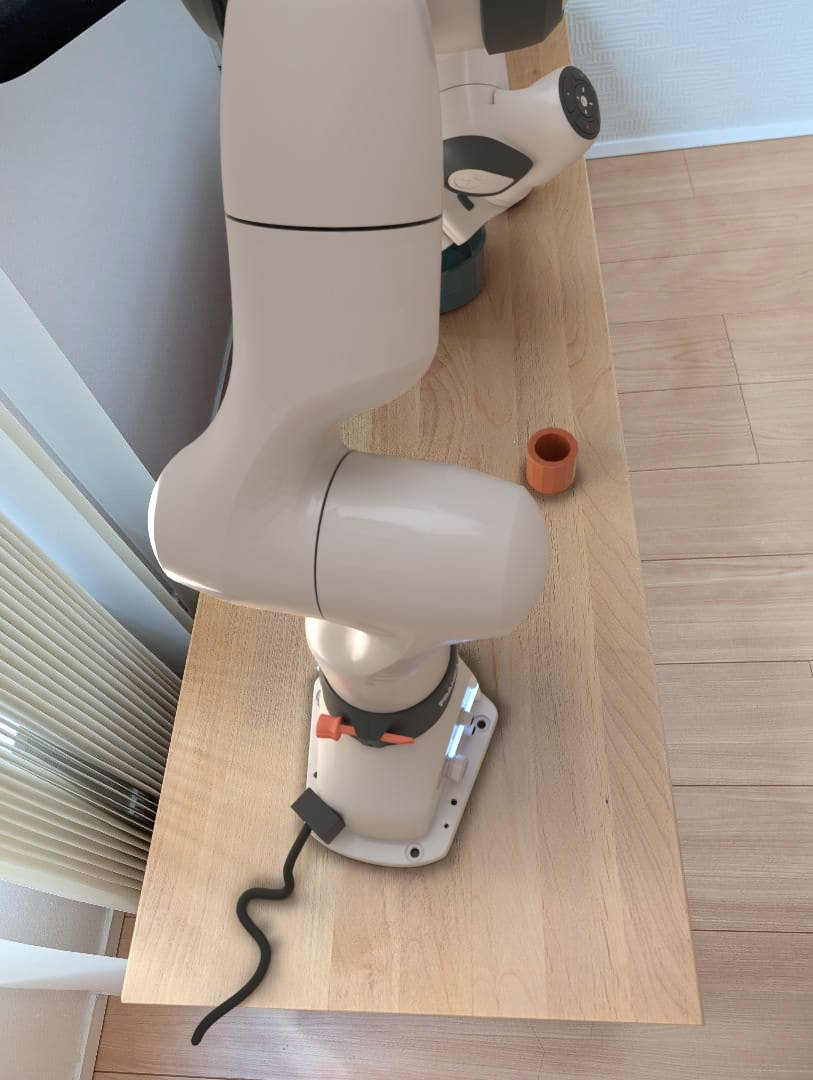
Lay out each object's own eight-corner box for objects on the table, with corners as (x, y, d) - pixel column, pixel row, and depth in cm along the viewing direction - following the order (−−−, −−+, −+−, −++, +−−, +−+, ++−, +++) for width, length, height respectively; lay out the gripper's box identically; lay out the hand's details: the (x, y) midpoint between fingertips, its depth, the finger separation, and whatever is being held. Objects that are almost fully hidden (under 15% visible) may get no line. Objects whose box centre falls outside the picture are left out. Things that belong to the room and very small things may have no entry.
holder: (571, 500, 88) (575, 470, 83) (522, 495, 89) (523, 464, 84) (576, 461, 91) (581, 430, 85) (529, 456, 92) (530, 425, 87)
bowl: (477, 322, 103) (475, 281, 97) (367, 314, 106) (358, 274, 100) (495, 244, 110) (494, 201, 104) (391, 239, 113) (384, 197, 107)
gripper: (513, 100, 92) (448, 156, 103) (420, 205, 84) (361, 252, 96) (546, 145, 94) (478, 194, 106) (458, 251, 86) (396, 291, 98)
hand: (422, 222), depth 101 cm, fingers closed
